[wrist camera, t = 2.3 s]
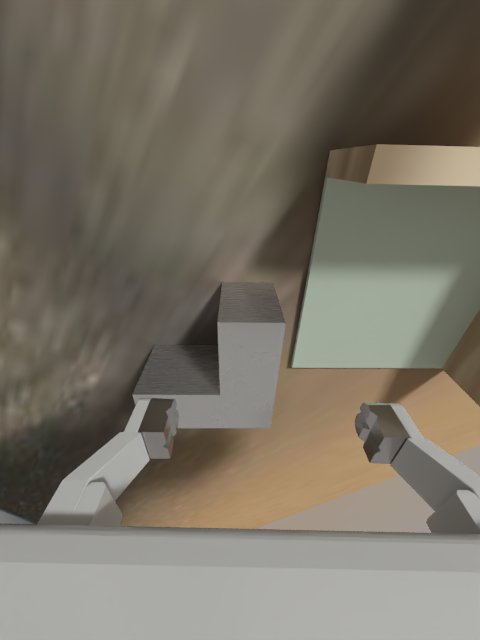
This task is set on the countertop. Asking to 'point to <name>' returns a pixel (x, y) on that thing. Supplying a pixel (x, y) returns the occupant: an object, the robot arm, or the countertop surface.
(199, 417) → the bracket
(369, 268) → the mat
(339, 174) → the walls
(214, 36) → the countertop surface
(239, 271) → the countertop surface
